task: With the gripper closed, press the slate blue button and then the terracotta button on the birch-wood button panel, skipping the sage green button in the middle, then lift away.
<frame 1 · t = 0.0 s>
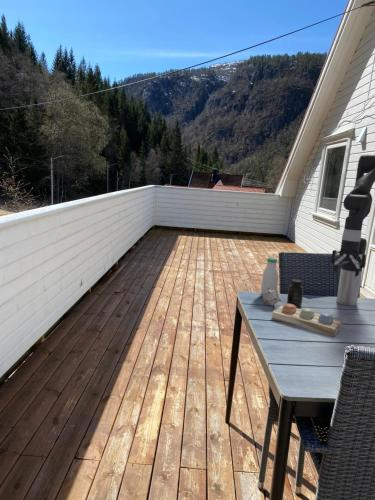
hand: (345, 274, 155), 17 cm above the table, tool pointing down, fingers open, 8 cm apart
terracotta button: (289, 309, 144), point 4 cm above the table, slide at 0.0 cm
game die: (270, 306, 159), on the table
sage button: (307, 313, 140), point 4 cm above the table, slide at 0.0 cm
supplement bottle: (294, 305, 163), on the table
button panel: (305, 322, 141), on the table
slate button: (325, 318, 136), point 4 cm above the table, slide at 0.0 cm
milk bottle: (268, 297, 172), on the table
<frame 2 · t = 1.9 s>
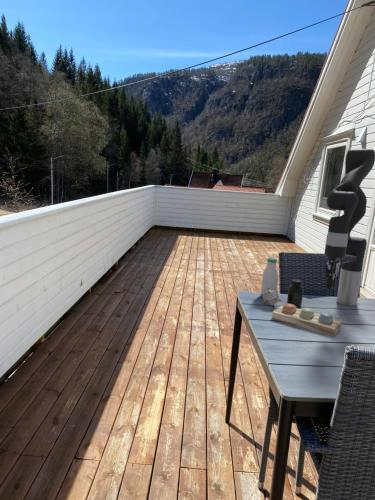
hand: (330, 287, 133), 17 cm above the table, tool pointing down, fingers open, 3 cm apart
nothing on the table moved.
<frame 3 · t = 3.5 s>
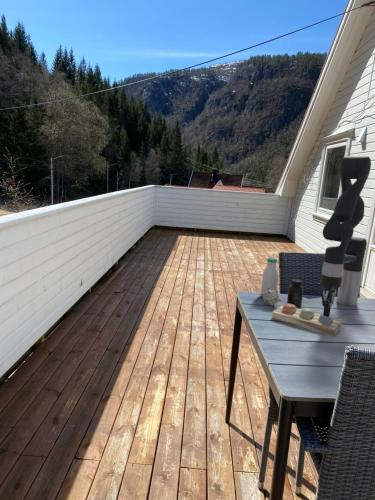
hand: (326, 315, 135), 5 cm above the table, tool pointing down, fingers closed
slate button: (325, 319, 136), point 4 cm above the table, slide at 0.4 cm, touching gripper
everything else where it was.
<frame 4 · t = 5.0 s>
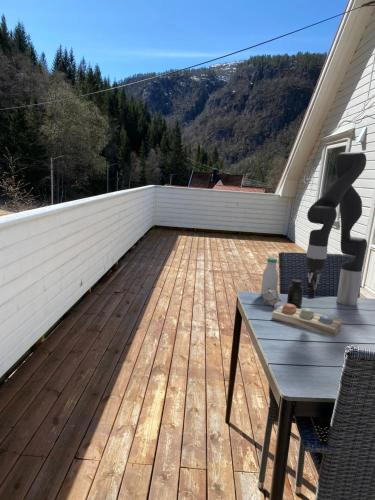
hand: (311, 297, 138), 11 cm above the table, tool pointing down, fingers closed
slate button: (325, 321, 136), point 3 cm above the table, slide at 1.1 cm
everything else where it was.
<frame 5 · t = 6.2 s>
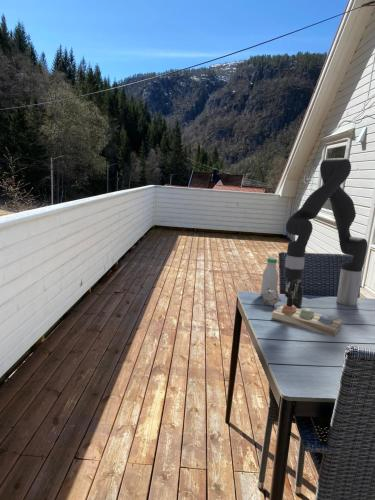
hand: (289, 305, 144), 5 cm above the table, tool pointing down, fingers closed
terracotta button: (289, 309, 144), point 4 cm above the table, slide at 0.2 cm, touching gripper
everything else where it was.
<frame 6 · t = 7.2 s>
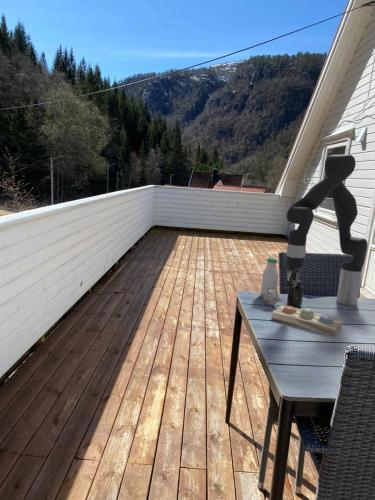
hand: (291, 295, 143), 10 cm above the table, tool pointing down, fingers closed
terracotta button: (289, 311, 144), point 3 cm above the table, slide at 1.1 cm
everything else where it was.
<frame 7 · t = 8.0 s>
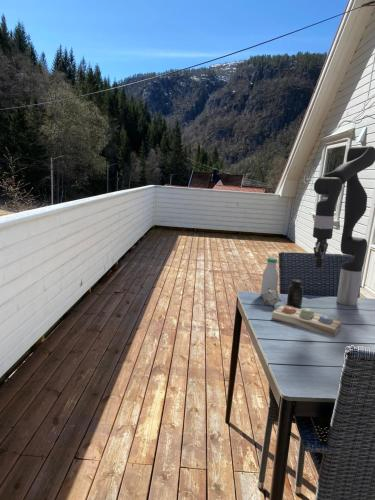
hand: (318, 267, 143), 22 cm above the table, tool pointing down, fingers closed
nothing on the table moved.
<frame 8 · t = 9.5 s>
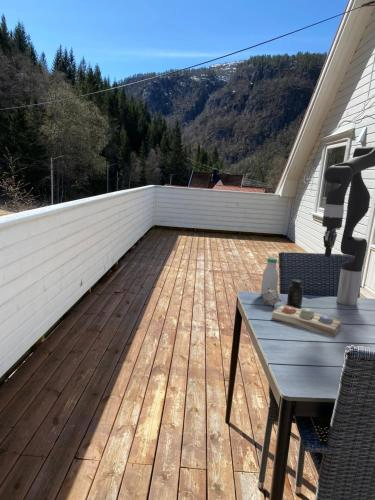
hand: (327, 256, 143), 27 cm above the table, tool pointing down, fingers closed
nothing on the table moved.
at the end: slate button slide at 1.1 cm; terracotta button slide at 1.1 cm; sage button slide at 0.0 cm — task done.
